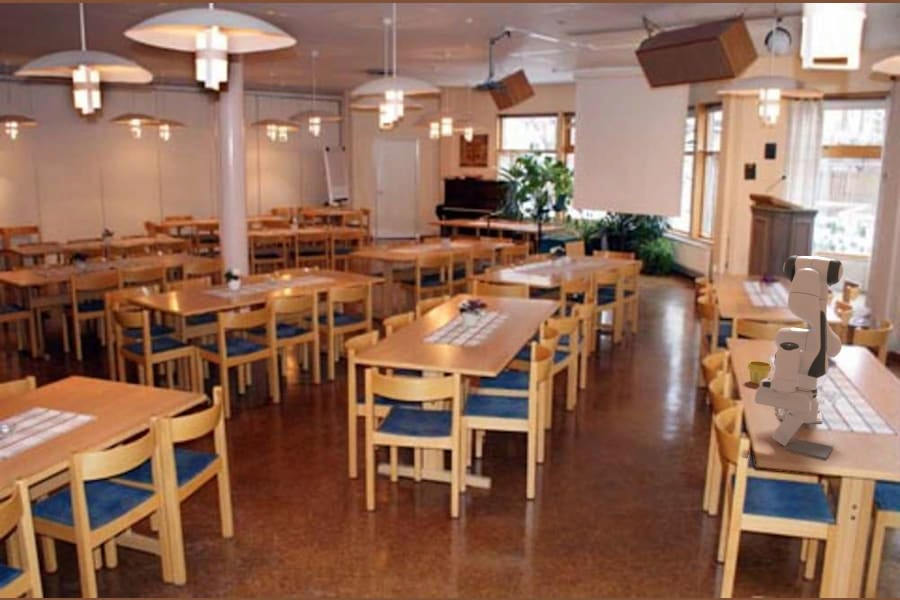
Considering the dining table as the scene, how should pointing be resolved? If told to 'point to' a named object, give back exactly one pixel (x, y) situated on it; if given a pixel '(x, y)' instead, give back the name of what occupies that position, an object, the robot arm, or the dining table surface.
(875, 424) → the dining table surface
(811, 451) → the rubber mat
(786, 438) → the skincare box
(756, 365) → the plant pot
